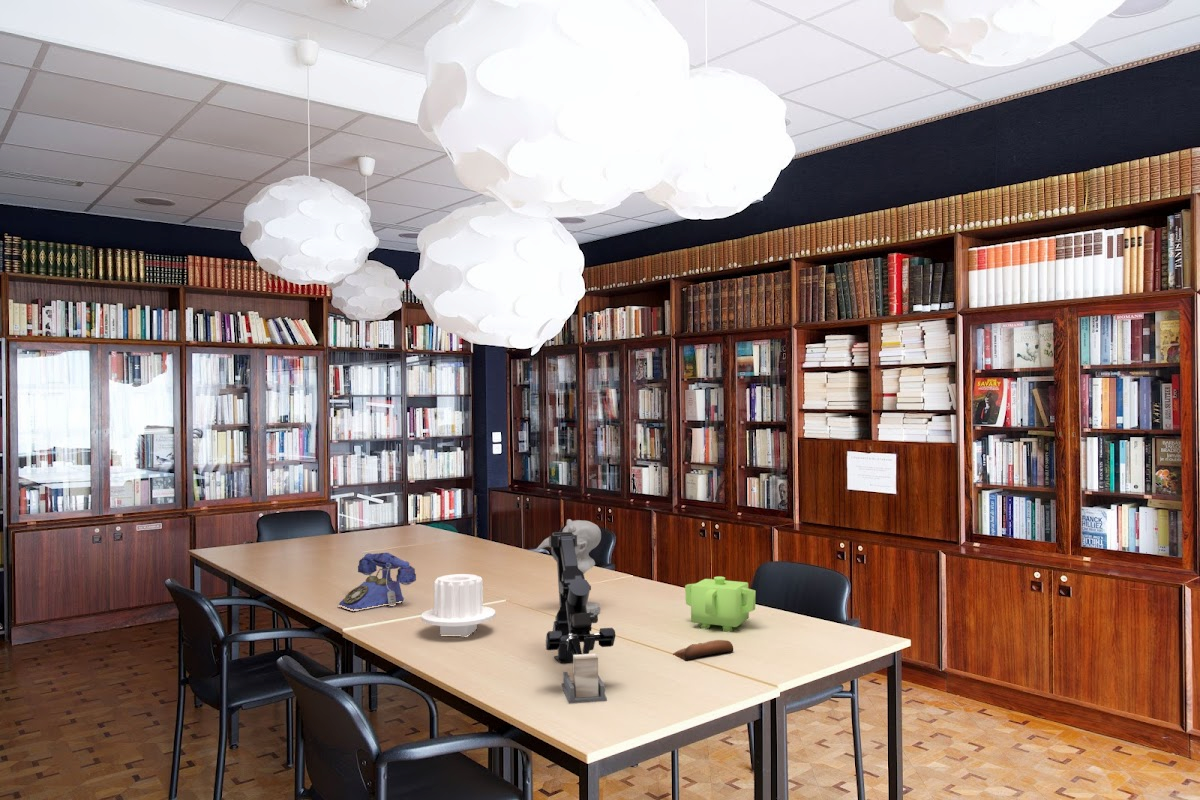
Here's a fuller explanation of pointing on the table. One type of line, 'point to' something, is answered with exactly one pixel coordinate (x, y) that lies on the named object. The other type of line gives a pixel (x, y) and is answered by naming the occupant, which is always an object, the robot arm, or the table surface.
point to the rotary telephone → (379, 582)
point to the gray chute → (571, 698)
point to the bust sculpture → (582, 547)
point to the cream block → (585, 675)
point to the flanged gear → (458, 605)
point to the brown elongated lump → (704, 649)
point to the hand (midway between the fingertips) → (584, 667)
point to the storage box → (720, 602)
